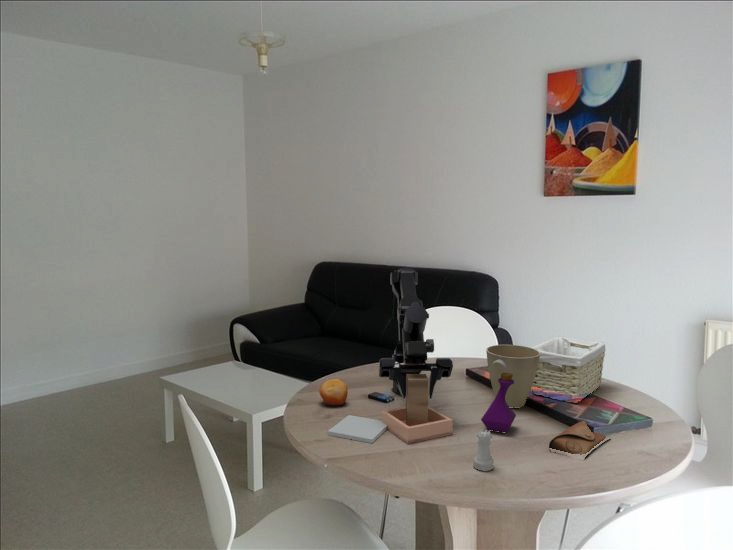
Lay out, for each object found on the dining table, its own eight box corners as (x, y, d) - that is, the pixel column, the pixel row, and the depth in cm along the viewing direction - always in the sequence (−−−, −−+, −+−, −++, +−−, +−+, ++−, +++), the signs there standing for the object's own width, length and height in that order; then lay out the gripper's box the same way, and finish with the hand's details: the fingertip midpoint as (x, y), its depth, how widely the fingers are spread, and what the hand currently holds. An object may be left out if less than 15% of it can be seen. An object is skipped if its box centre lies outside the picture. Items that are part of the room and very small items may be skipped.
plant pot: (480, 409, 153) (481, 354, 152) (489, 393, 167) (490, 342, 165) (535, 417, 148) (537, 359, 146) (540, 400, 161) (542, 347, 160)
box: (423, 417, 147) (424, 403, 147) (452, 434, 136) (452, 419, 135) (381, 425, 141) (381, 411, 141) (407, 444, 130) (407, 428, 129)
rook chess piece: (470, 463, 120) (471, 428, 119) (490, 462, 120) (491, 427, 120) (476, 472, 116) (477, 436, 115) (496, 471, 116) (498, 435, 115)
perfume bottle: (516, 426, 141) (518, 358, 139) (510, 437, 134) (513, 366, 132) (487, 422, 144) (489, 355, 142) (480, 432, 137) (482, 362, 135)
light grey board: (348, 418, 146) (348, 415, 146) (390, 425, 141) (390, 422, 141) (327, 434, 135) (327, 431, 135) (372, 443, 130) (372, 439, 130)
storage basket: (578, 407, 156) (580, 357, 154) (524, 395, 166) (526, 347, 165) (605, 388, 174) (607, 342, 172) (555, 377, 184) (557, 335, 183)
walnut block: (405, 423, 141) (406, 374, 139) (424, 423, 141) (425, 374, 139) (407, 430, 136) (408, 379, 134) (427, 430, 136) (428, 379, 134)
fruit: (350, 392, 163) (348, 374, 158) (347, 414, 156) (345, 395, 151) (323, 391, 163) (321, 373, 158) (319, 413, 157) (316, 394, 152)
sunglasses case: (585, 462, 121) (571, 432, 122) (557, 469, 125) (544, 440, 127) (613, 438, 134) (600, 412, 136) (587, 445, 138) (575, 420, 140)
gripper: (379, 327, 139) (381, 382, 130) (452, 327, 140) (459, 382, 130) (378, 350, 148) (379, 403, 138) (446, 350, 148) (453, 403, 139)
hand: (417, 397), depth 136 cm, fingers open, 6 cm apart
